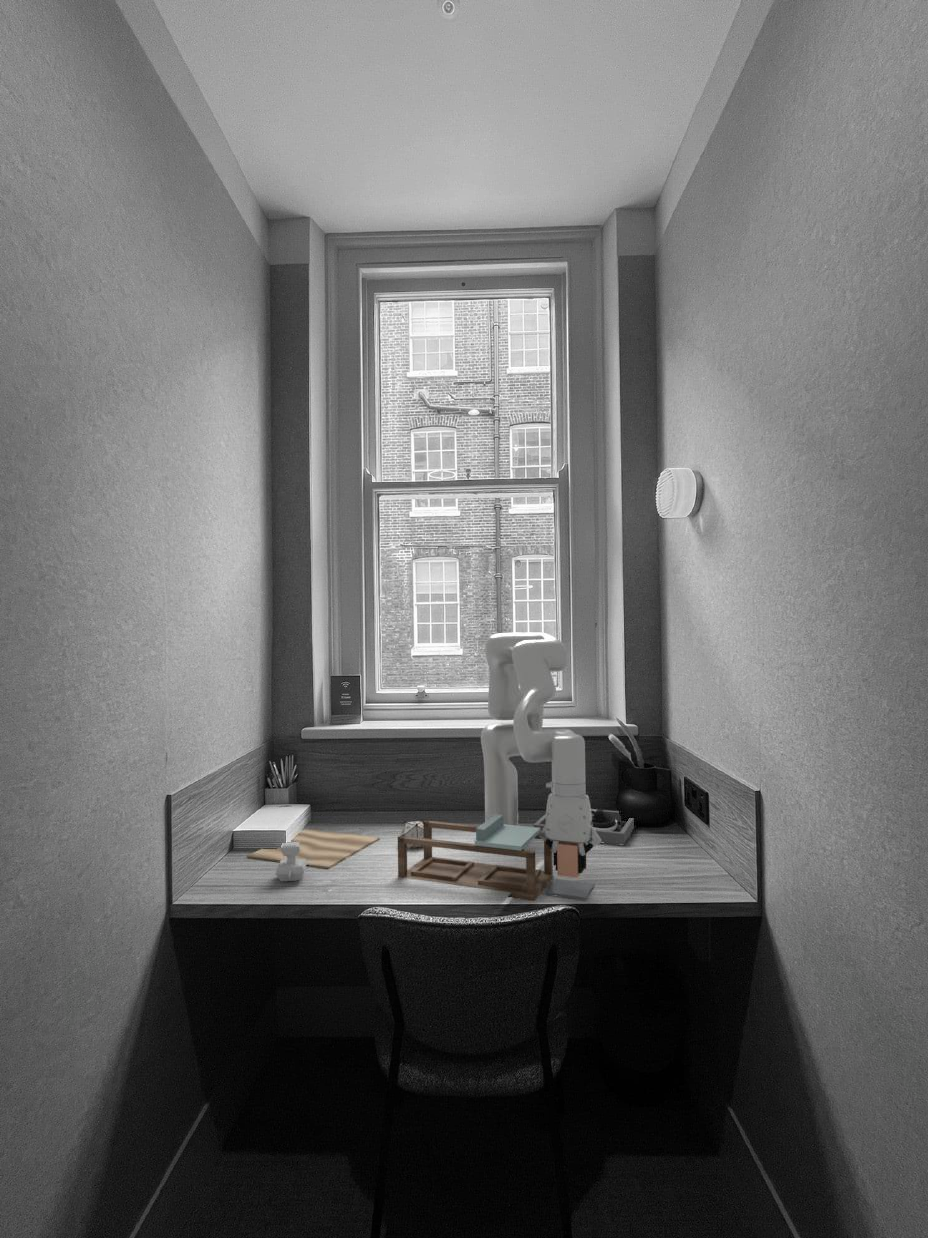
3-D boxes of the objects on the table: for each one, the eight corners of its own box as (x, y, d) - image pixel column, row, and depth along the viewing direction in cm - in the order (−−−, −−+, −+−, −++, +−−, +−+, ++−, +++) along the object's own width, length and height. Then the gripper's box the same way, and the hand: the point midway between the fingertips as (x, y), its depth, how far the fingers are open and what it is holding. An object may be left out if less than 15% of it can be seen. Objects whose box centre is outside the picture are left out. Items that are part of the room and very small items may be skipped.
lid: (497, 827, 177) (496, 813, 177) (540, 832, 173) (540, 817, 173) (474, 845, 163) (474, 830, 163) (521, 850, 159) (520, 835, 159)
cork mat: (305, 830, 213) (305, 829, 213) (379, 839, 203) (379, 837, 203) (247, 857, 189) (247, 855, 189) (328, 869, 179) (328, 867, 179)
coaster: (555, 881, 169) (555, 878, 169) (594, 886, 166) (594, 883, 166) (545, 894, 161) (545, 892, 161) (585, 900, 157) (585, 897, 157)
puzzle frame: (426, 861, 184) (426, 820, 184) (552, 877, 172) (552, 833, 172) (398, 881, 170) (397, 837, 170) (533, 901, 157) (533, 853, 157)
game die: (407, 864, 193) (385, 833, 195) (428, 846, 199) (407, 816, 200) (422, 855, 187) (399, 823, 188) (443, 836, 193) (421, 806, 194)
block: (562, 869, 166) (562, 838, 166) (582, 871, 164) (581, 840, 164) (557, 875, 162) (557, 844, 162) (577, 877, 160) (576, 846, 160)
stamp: (303, 885, 169) (303, 849, 169) (274, 886, 168) (274, 850, 168) (307, 872, 178) (307, 837, 178) (280, 873, 177) (279, 839, 177)
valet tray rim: (554, 816, 225) (554, 805, 225) (637, 823, 216) (636, 813, 216) (533, 836, 205) (533, 824, 205) (623, 845, 195) (623, 833, 195)
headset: (572, 792, 223) (634, 809, 213) (568, 816, 224) (631, 835, 213) (549, 804, 208) (615, 824, 198) (546, 830, 209) (612, 851, 199)
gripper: (528, 790, 163) (529, 871, 163) (602, 796, 157) (603, 880, 156) (537, 783, 170) (538, 861, 170) (609, 788, 164) (610, 869, 163)
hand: (569, 869), depth 163 cm, fingers closed on block, 4 cm apart
